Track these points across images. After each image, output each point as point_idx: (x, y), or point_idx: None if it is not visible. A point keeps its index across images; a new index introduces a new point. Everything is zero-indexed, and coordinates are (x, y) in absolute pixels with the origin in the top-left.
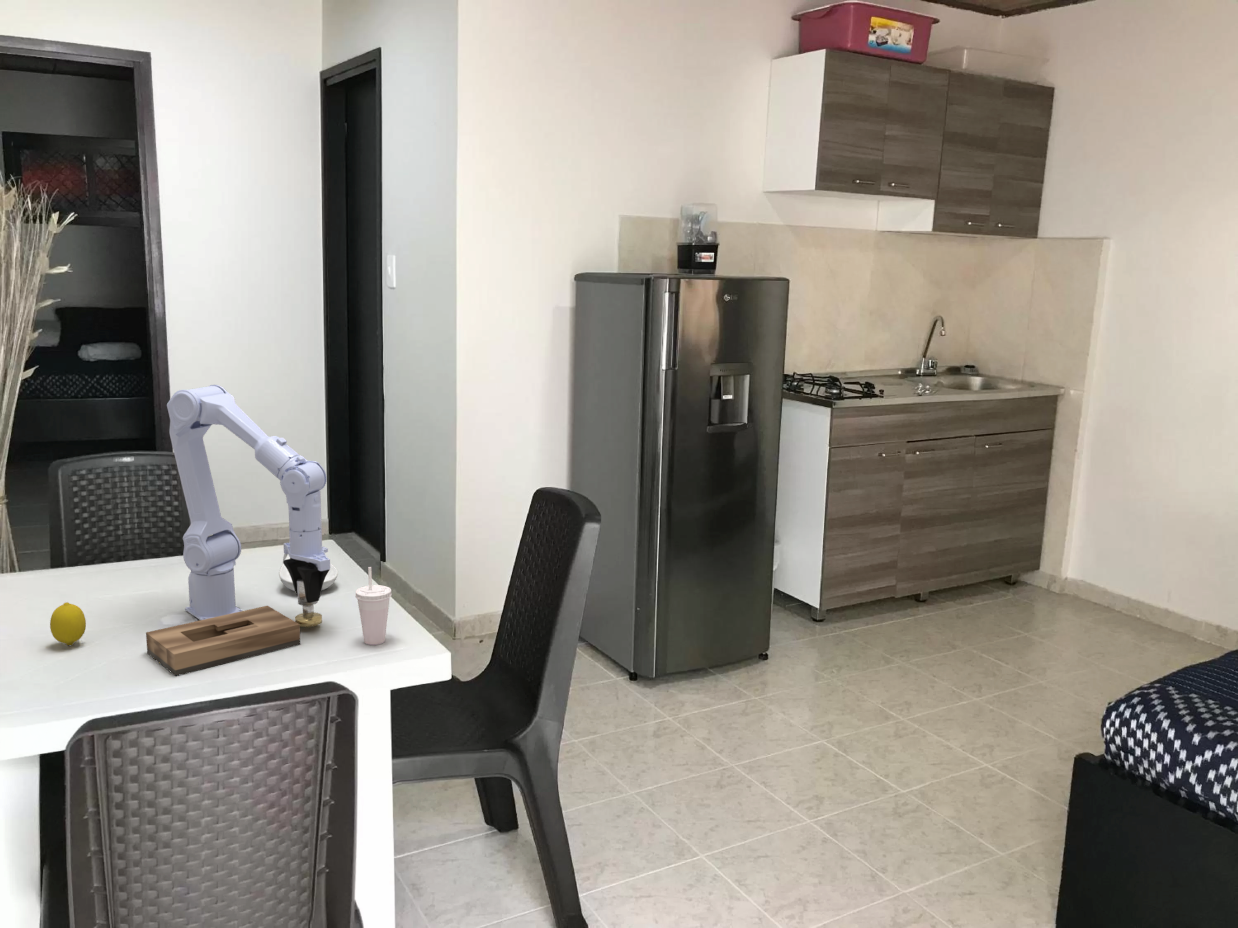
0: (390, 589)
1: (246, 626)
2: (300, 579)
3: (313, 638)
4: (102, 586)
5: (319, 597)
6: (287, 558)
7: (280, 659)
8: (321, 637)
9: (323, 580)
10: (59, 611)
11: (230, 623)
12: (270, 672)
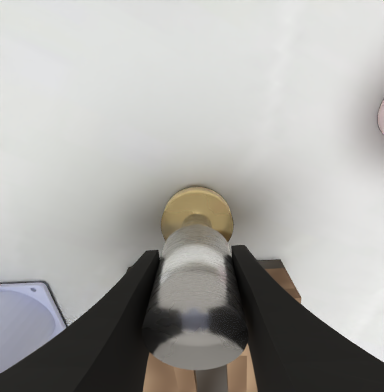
0: None
1: (229, 368)
2: (169, 354)
3: (267, 227)
4: None
5: (248, 250)
6: None
7: (322, 306)
8: (274, 211)
9: (308, 312)
10: None
11: (192, 379)
12: (361, 332)
